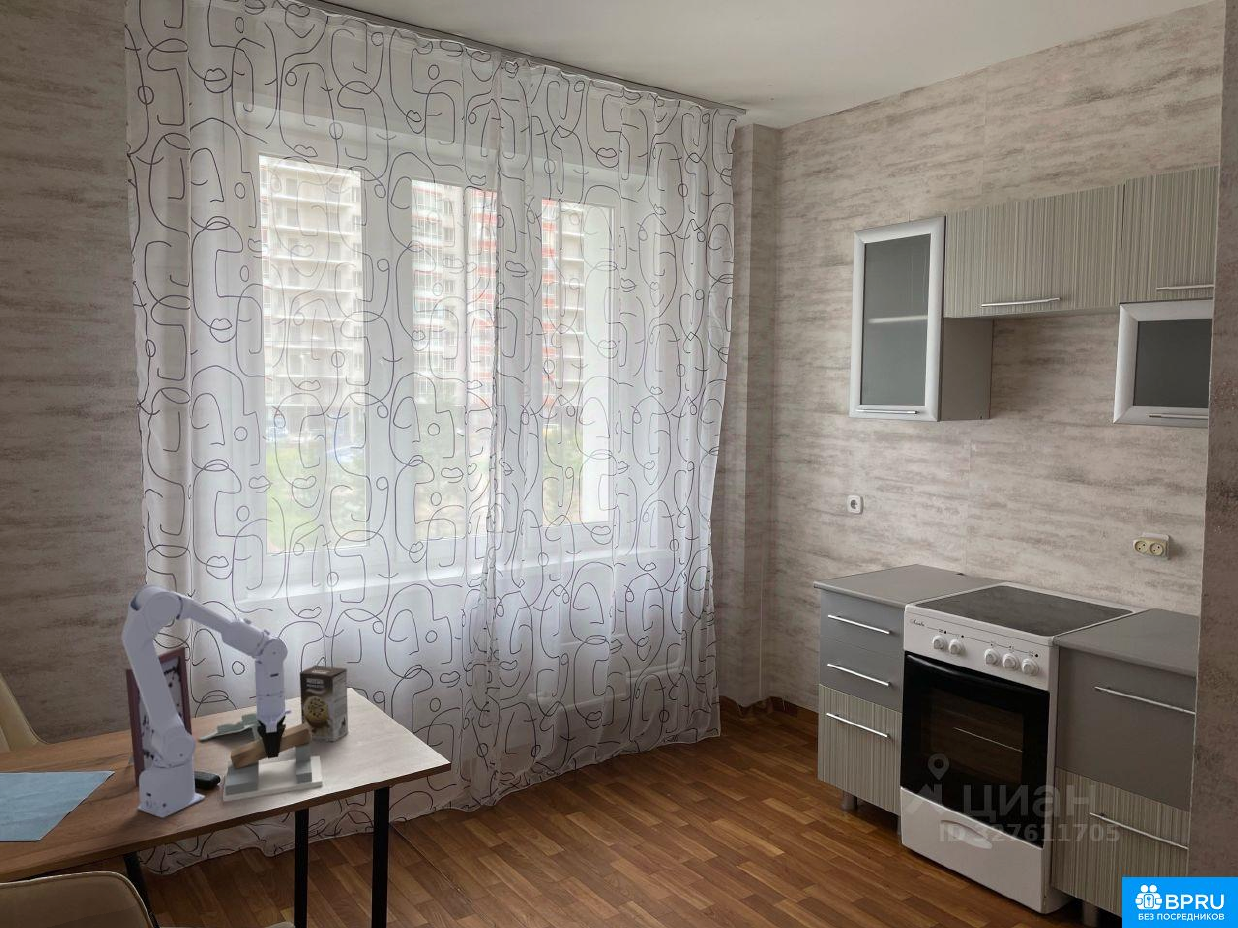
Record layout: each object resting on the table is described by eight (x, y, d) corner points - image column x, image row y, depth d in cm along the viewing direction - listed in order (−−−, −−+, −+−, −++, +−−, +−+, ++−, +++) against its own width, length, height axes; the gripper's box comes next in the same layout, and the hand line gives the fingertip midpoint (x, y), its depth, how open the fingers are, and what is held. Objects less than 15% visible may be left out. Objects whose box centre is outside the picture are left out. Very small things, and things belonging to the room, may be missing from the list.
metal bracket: (283, 704, 216) (233, 725, 203) (289, 727, 216) (239, 750, 203) (243, 712, 223) (192, 733, 209) (249, 734, 222) (198, 757, 209)
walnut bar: (234, 769, 185) (230, 756, 185) (235, 762, 189) (231, 749, 188) (312, 740, 190) (307, 727, 190) (311, 733, 194) (307, 721, 194)
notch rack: (223, 801, 177) (221, 772, 176) (226, 773, 190) (225, 746, 189) (322, 785, 184) (321, 757, 183) (319, 759, 197) (318, 733, 196)
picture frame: (140, 785, 185) (133, 669, 183) (100, 781, 187) (93, 667, 185) (193, 753, 201) (188, 646, 199) (156, 750, 203) (150, 644, 201)
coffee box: (300, 738, 209) (297, 672, 208) (317, 728, 215) (314, 664, 214) (333, 742, 206) (331, 675, 205) (349, 732, 213) (347, 667, 211)
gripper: (290, 699, 183) (293, 762, 184) (289, 678, 197) (292, 737, 198) (254, 704, 180) (257, 768, 182) (255, 682, 194) (258, 742, 195)
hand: (273, 752), depth 189 cm, fingers closed on walnut bar, 4 cm apart
